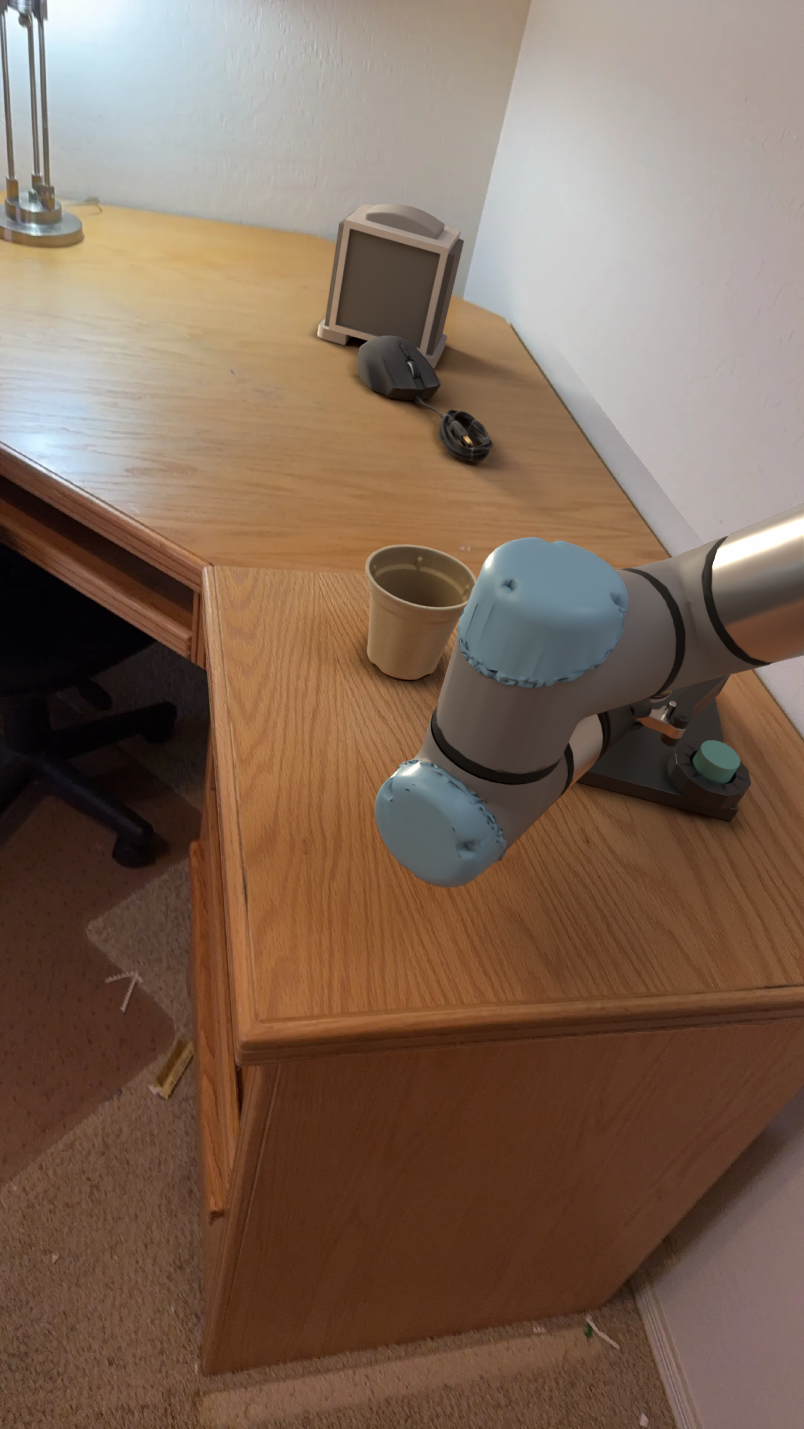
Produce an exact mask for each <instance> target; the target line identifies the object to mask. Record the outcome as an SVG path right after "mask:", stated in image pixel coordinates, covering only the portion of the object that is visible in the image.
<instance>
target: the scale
mask: <svg viewBox="0 0 804 1429" xmlns="http://www.w3.org/2000/svg"><path fill="white" fill-rule="evenodd" d="M691 686H692V685H690V686H686V687H683V688H679V689H675V690H672V692H671V694H670V695H669V696H668V697H667V698H666V699H665V700H663V701H660V702H656V703H651V705H652V709H660V708H661V707H662V706H667V705H668V703H669V702H670V701H674V702H677V700H678V698H679V697H680V695H681V694H682V693H684V692H685V691H686V690H687V689H688V688H689V687H691ZM723 733H724V732H723V729H722V723H721V719H720V715H719V709H718V704H717V699H716V698H715V699H713V700H712V701H711V702H710V703H709V704H708V705H707V706H706V707H705V708H704V709H703V710H702V711H700V712H699V713H698V714H697V715H696V716H695V717H694V718H693V719H692V720H691V721H690V722H689V724H688V726H687V728H686V729H685V731H684V733H683V735H682V736H681V738H680V740H679V742H678V743H677V745H676V746H674V747H670V746H667V745H665V744H664V743H663V742H662V741H661V734H662V733H661V732H659V731H657V730H654V729H652V728H649V727H647V726H643V727H642V728H640V729H638V730H633V731H629V732H627V733H626V734H625V735H624V736H623V737H622V738H621V739H620V740H619V741H618V742H617V743H616V744H615V745H614V746H613V747H612V748H611V749H610V750H608V751H607V752H606V753H605V754H604V755H603V756H602V757H601V758H600V759H599V760H598V761H597V762H595V763H594V765H593V766H592V767H591V768H590V769H589V770H588V771H587V772H586V773H585V774H583V775H582V776H581V777H580V778H579V779H578V780H577V781H576V782H577V783H580V784H584V785H588V786H592V787H596V788H599V789H603V790H607V791H611V792H614V793H619V794H622V795H627V796H630V797H635V798H638V799H642V800H646V801H648V802H649V801H650V802H654V803H656V804H657V803H658V804H661V805H666V806H669V807H673V808H676V809H681V810H684V811H688V812H691V813H695V814H700V815H703V816H706V817H707V816H708V817H712V818H715V819H719V820H722V821H726V822H732V821H733V819H734V818H735V816H736V814H737V813H738V812H739V807H738V806H739V805H738V804H739V803H740V801H741V800H742V799H743V797H744V796H745V794H746V792H748V789H749V788H750V786H751V785H752V780H751V777H750V772H749V768H748V767H747V766H746V765H745V764H744V763H743V762H742V761H741V760H740V765H739V767H738V768H737V770H736V771H735V773H734V774H733V776H732V778H731V779H730V781H729V782H727V783H725V784H718V783H714V782H710V781H709V780H707V779H705V778H704V777H702V776H701V775H699V774H698V773H697V772H696V771H695V769H694V768H693V767H692V760H693V758H694V756H695V755H696V753H697V751H698V750H699V748H700V746H701V745H702V743H703V742H705V741H708V740H714V741H719V742H722V743H724V744H726V743H725V739H724V734H723ZM576 782H575V783H576Z"/></svg>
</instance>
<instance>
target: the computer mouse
mask: <svg viewBox="0 0 804 1429" xmlns="http://www.w3.org/2000/svg"><path fill="white" fill-rule="evenodd" d="M356 369H357V373H358V376H359V377H360V379H361V380H362V382H363V383H364V385H366V386H367V387H368V388H369V389H370V390H371V391H373V392H376V393H379V394H381V395H384V396H385V397H387V398H389V399H395V400H396V399H397V400H404V401H414V402H415V403H416V404H418V405H419V406H422V407H423V408H426V409H429V410H430V411H432V412H434V413H436V414H437V415H438V416H439V417H440V422H439V428H438V432H437V434H438V438H439V440H440V442H441V443H442V445H443V446H444V447H445V449H446V451H447V452H448V453H449V454H450V456H452V457H454V458H456V459H459V460H463V461H467V462H480V461H482V460H484V459H486V458H487V457H488V456H489V454H490V450H491V449H492V448H493V447H494V442H493V441H492V439H491V438H490V436H489V433H488V431H487V429H486V426H485V425H484V424H483V423H482V422H480V421H479V420H477V419H476V418H475V417H474V416H473V415H471V414H470V413H469V412H467V411H463V410H455V409H449V410H447V411H446V412H445V413H444V414H442V412H441V411H439V410H438V409H437V408H435V407H434V406H432V405H429V404H427V403H425V402H424V401H423V400H427V399H430V398H432V397H434V395H435V394H436V393H437V392H438V390H440V387H441V386H442V384H441V382H440V379H439V377H438V375H437V373H436V371H435V368H432V366H431V365H430V363H429V362H428V361H427V359H426V358H425V357H424V356H423V355H422V354H421V352H420V351H419V350H418V349H417V348H416V347H415V346H414V345H413V344H412V343H411V342H410V341H408V340H406V339H404V338H401V337H397V336H379V337H376V338H373V339H371V340H369V341H368V340H366V342H364V343H363V344H361V345H360V347H359V349H358V352H357V366H356ZM471 438H472V439H473V441H474V442H475V443H478V444H479V445H477V446H474V444H473V441H472V440H471Z"/></svg>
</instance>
